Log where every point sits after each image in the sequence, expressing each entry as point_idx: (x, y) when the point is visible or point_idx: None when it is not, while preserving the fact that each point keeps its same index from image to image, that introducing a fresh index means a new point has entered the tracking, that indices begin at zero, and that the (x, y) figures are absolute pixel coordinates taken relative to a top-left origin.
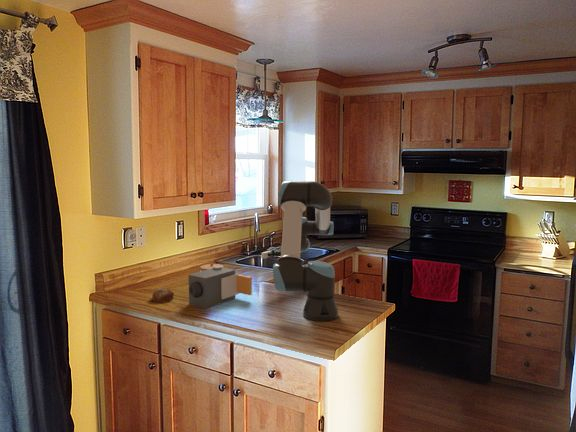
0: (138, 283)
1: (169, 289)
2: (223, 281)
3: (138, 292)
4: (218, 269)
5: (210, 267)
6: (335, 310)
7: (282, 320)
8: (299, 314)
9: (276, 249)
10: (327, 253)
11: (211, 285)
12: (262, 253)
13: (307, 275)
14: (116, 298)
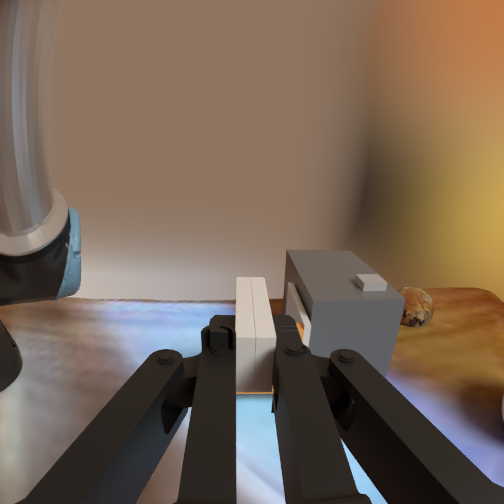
0: None
1: (408, 300)
2: (288, 296)
3: (473, 311)
4: (356, 282)
5: None
6: None
7: (67, 335)
8: (31, 367)
9: (298, 480)
10: None
11: (288, 281)
12: (249, 280)
13: None
14: (446, 291)
